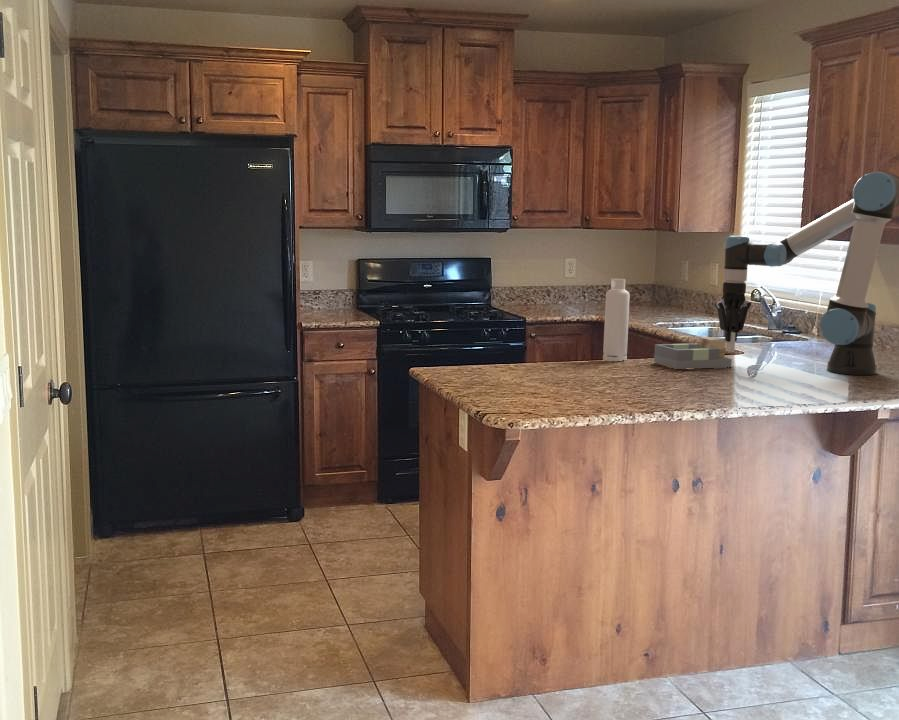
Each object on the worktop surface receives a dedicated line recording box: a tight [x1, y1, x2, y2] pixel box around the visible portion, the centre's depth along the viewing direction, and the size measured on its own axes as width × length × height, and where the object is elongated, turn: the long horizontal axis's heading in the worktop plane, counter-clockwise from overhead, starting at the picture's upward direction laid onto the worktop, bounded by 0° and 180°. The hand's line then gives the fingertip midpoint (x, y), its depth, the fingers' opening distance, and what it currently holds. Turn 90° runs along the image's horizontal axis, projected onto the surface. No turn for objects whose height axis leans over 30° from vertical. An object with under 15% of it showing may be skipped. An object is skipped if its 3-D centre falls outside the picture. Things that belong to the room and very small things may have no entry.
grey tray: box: [653, 342, 732, 370], centre depth 329 cm, size 14×21×6 cm, turn 109°
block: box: [699, 336, 726, 357], centre depth 331 cm, size 6×6×6 cm
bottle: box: [602, 278, 631, 362], centre depth 337 cm, size 8×8×28 cm
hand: (730, 350), depth 334 cm, fingers closed
